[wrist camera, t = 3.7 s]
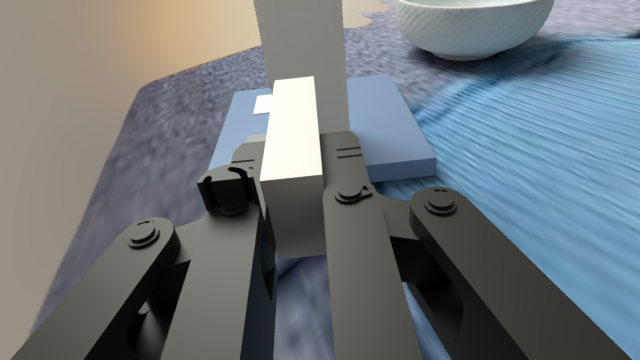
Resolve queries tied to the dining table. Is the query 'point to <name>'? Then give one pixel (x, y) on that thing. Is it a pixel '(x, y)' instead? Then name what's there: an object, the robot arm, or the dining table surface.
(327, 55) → the white upright block
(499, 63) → the dining table surface
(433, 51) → the cereal bowl
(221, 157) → the switch board
